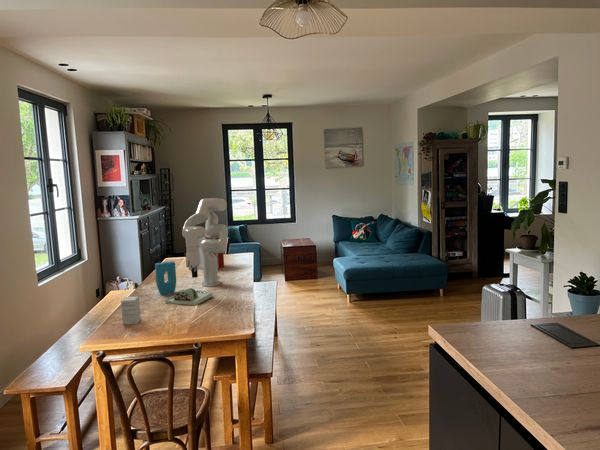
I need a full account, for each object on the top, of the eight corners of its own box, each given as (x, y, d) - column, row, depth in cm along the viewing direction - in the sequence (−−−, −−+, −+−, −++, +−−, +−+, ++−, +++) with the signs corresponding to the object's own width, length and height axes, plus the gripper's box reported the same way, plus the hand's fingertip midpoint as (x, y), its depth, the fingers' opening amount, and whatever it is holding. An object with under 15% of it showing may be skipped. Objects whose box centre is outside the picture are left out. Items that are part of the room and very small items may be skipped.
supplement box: (126, 320, 233) (124, 296, 232) (141, 319, 234) (139, 296, 232) (122, 324, 226) (120, 300, 224) (137, 323, 226) (135, 299, 225)
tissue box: (224, 266, 365) (223, 234, 362) (209, 270, 350) (207, 237, 347) (210, 265, 373) (208, 233, 370) (194, 269, 359) (192, 236, 356)
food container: (199, 286, 268) (190, 291, 258) (200, 296, 268) (191, 301, 259) (181, 286, 271) (172, 290, 262) (182, 295, 272) (173, 300, 262)
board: (182, 294, 280) (182, 291, 280) (212, 296, 274) (212, 292, 274) (165, 303, 262) (165, 299, 262) (196, 305, 256) (196, 301, 256)
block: (158, 295, 280) (156, 264, 278) (156, 294, 284) (154, 263, 282) (177, 292, 286) (175, 262, 284) (175, 290, 291) (173, 261, 288)
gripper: (193, 245, 280) (195, 273, 283) (180, 251, 266) (183, 280, 269) (204, 246, 278) (206, 274, 281) (191, 251, 264) (194, 280, 267)
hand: (195, 277), depth 275 cm, fingers closed
